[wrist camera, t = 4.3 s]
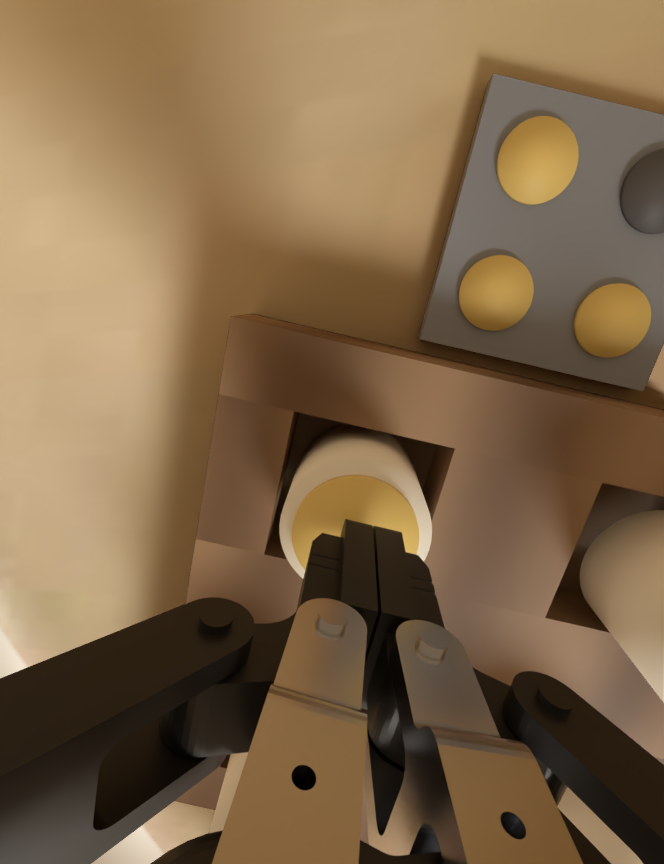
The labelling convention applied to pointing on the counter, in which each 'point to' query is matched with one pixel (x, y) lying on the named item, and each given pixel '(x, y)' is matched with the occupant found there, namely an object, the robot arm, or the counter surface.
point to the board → (439, 500)
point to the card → (557, 237)
